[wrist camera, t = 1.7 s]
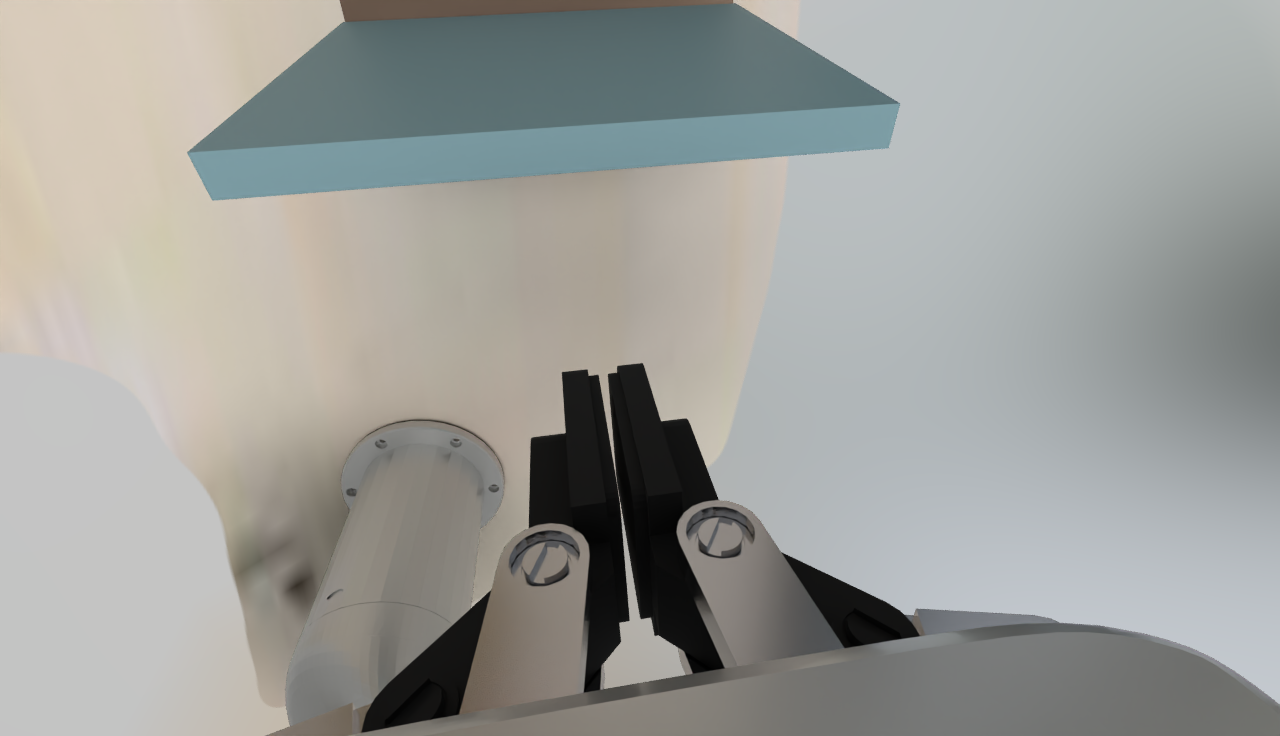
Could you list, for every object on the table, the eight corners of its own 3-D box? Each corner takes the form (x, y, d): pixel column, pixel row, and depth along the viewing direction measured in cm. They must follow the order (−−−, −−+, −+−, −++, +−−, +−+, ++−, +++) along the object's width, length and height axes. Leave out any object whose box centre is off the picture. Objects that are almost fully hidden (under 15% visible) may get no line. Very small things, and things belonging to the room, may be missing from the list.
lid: (735, 3, 28) (733, 31, 28) (342, 22, 26) (352, 52, 27) (899, 103, 16) (888, 148, 16) (187, 152, 14) (212, 200, 15)
